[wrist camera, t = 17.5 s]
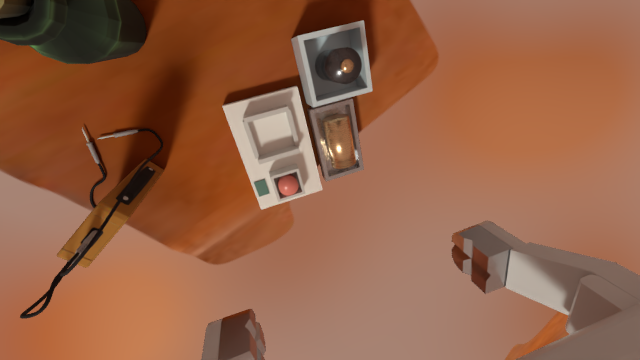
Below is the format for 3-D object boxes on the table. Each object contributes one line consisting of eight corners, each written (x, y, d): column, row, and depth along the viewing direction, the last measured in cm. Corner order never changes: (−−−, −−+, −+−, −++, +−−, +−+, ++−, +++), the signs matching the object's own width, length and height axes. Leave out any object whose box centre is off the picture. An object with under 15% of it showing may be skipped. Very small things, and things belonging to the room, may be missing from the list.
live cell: (319, 119, 39) (326, 124, 35) (343, 112, 39) (352, 116, 36) (329, 165, 42) (336, 175, 39) (351, 159, 42) (360, 167, 39)
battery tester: (223, 104, 35) (221, 108, 32) (295, 85, 37) (300, 87, 33) (260, 205, 42) (261, 216, 39) (320, 185, 44) (325, 195, 40)
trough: (306, 108, 38) (309, 110, 37) (348, 97, 39) (352, 98, 37) (323, 177, 43) (326, 181, 41) (359, 165, 44) (363, 169, 42)
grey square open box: (291, 39, 34) (297, 35, 30) (350, 25, 35) (363, 20, 31) (306, 102, 38) (313, 107, 34) (359, 88, 39) (372, 91, 35)
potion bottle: (94, 70, 30) (-74, 79, 14) (49, -15, 27) (-239, -129, 11) (167, 56, 32) (88, 49, 16) (134, -28, 28) (-13, -147, 12)
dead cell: (312, 53, 35) (328, 51, 28) (339, 47, 35) (361, 43, 29) (318, 83, 37) (334, 88, 30) (343, 76, 37) (365, 79, 30)
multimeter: (105, 97, 32) (-71, 140, 14) (182, 149, 36) (123, 232, 18) (38, 185, 34) (-195, 323, 16) (119, 225, 38) (9, 366, 20)
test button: (275, 176, 39) (276, 181, 37) (293, 170, 39) (295, 175, 37) (280, 192, 40) (281, 197, 38) (298, 186, 40) (300, 192, 39)
